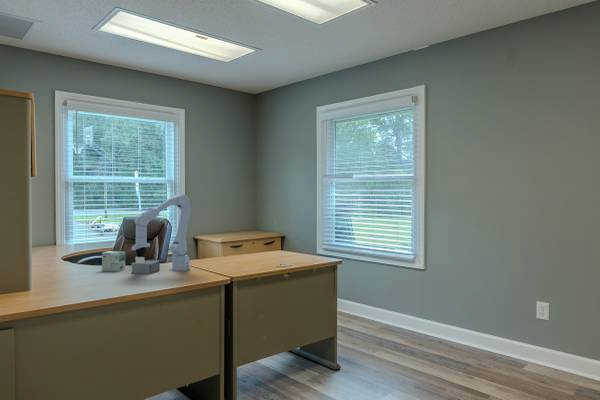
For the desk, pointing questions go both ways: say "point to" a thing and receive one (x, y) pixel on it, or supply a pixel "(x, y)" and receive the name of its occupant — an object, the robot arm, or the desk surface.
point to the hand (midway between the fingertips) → (140, 261)
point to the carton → (153, 266)
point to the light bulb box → (113, 261)
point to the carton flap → (140, 266)
